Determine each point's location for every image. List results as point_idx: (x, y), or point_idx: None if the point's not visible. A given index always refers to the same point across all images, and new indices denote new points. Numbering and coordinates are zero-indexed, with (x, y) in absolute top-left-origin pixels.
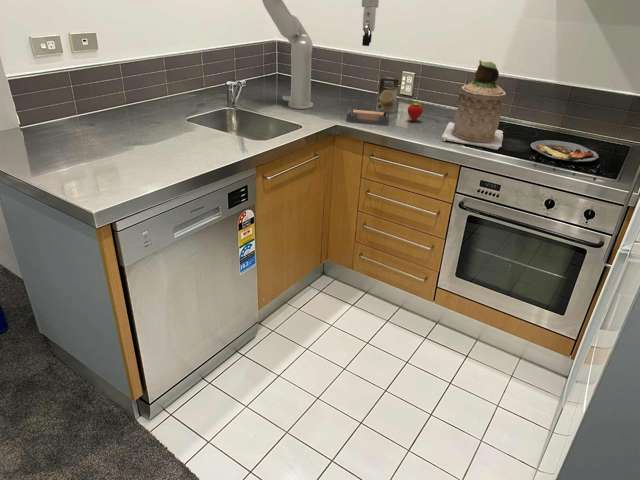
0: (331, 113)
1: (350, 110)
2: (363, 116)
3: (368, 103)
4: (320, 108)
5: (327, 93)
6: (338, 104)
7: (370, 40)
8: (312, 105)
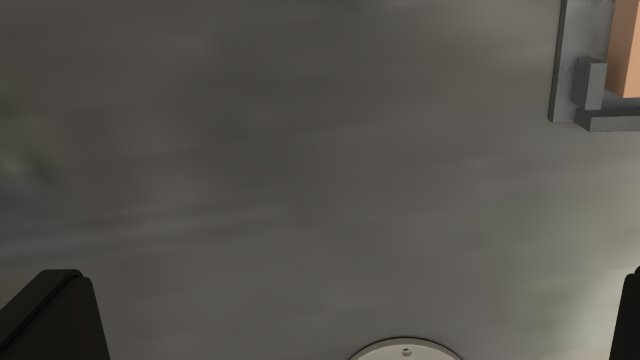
0: (513, 224)
1: (616, 117)
2: None
3: (182, 32)
4: (422, 295)
5: None
6: (294, 217)
7: (59, 313)
8: (416, 343)
